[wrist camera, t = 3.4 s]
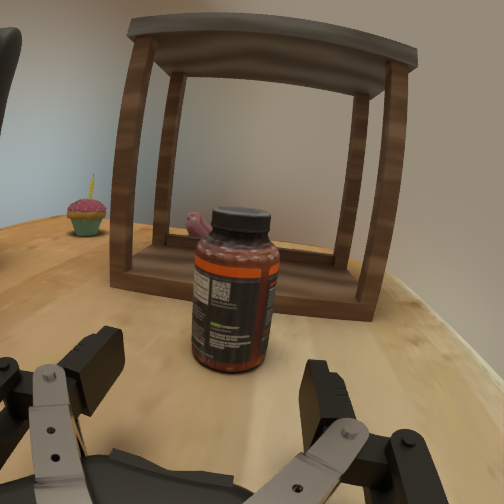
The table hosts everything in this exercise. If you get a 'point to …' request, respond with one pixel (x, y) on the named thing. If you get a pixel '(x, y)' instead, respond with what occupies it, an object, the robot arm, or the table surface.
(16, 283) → the table surface
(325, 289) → the under-counter shelf
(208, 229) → the video game controller
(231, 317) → the supplement bottle
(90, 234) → the cupcake
